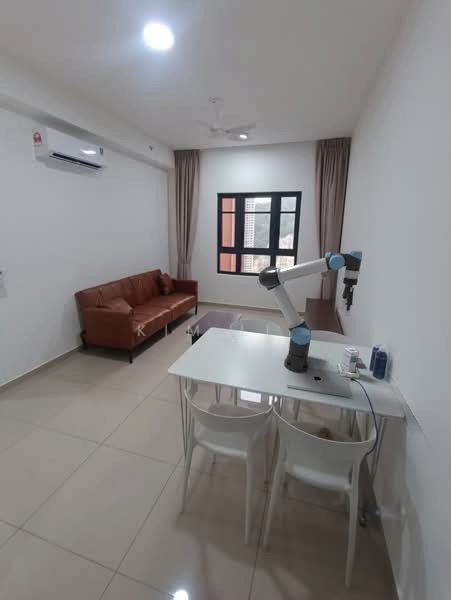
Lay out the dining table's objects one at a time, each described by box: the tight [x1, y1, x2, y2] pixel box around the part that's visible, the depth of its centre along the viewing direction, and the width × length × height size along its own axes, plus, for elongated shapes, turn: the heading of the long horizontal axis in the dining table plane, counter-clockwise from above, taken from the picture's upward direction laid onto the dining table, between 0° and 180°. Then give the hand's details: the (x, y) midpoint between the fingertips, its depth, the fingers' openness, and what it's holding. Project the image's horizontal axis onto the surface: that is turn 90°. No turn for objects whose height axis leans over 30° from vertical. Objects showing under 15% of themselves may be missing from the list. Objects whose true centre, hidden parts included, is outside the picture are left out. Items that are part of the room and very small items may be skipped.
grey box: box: [357, 357, 364, 371], centre depth 170 cm, size 8×13×4 cm, turn 165°
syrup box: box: [341, 347, 360, 373], centre depth 160 cm, size 6×6×14 cm
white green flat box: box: [336, 363, 360, 380], centre depth 162 cm, size 10×13×3 cm
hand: (344, 312), depth 162 cm, fingers open, 13 cm apart
